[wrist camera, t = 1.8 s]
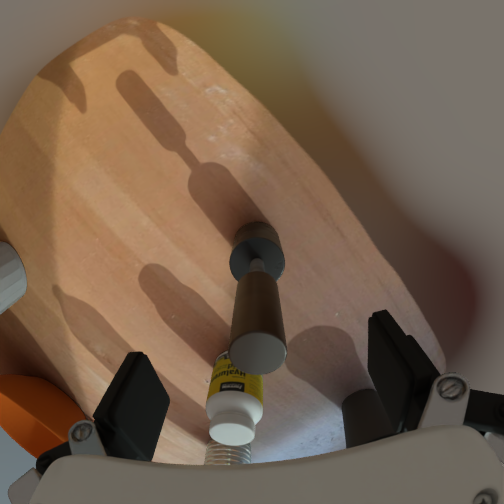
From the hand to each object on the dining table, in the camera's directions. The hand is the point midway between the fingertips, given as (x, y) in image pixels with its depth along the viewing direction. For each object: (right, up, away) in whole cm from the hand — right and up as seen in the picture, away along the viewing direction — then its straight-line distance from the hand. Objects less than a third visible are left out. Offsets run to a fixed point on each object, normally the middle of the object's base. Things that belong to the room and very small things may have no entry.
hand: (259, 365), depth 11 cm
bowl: (-36, -23, +25) cm, 49 cm away
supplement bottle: (-2, -8, +19) cm, 21 cm away
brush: (0, +5, +14) cm, 15 cm away
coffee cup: (+14, -16, +22) cm, 30 cm away
